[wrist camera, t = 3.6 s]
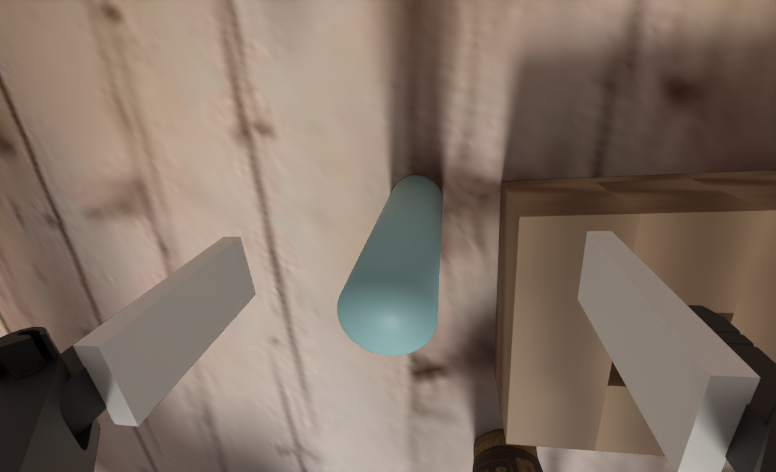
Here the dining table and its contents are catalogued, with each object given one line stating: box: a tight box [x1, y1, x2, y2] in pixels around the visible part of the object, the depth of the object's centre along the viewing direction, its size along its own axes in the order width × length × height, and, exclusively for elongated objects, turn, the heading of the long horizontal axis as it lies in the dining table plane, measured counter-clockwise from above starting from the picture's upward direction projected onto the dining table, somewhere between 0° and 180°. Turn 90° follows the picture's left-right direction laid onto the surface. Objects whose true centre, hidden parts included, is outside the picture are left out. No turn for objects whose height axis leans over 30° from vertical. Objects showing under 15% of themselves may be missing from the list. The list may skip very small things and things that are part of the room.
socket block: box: [494, 170, 776, 461], centre depth 20 cm, size 14×14×6 cm
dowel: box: [337, 175, 443, 356], centre depth 17 cm, size 3×3×12 cm
